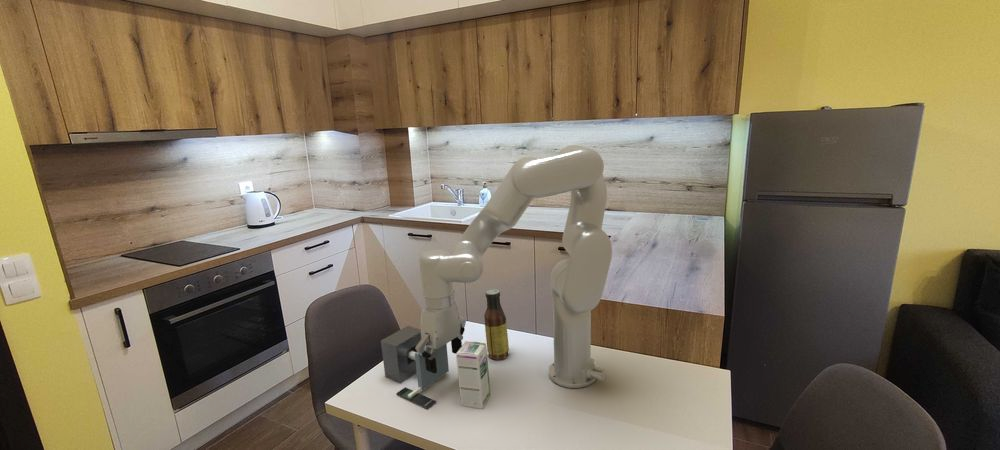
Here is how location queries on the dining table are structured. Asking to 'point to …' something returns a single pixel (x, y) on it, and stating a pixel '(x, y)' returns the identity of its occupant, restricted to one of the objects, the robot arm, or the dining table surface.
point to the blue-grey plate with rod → (425, 376)
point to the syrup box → (473, 374)
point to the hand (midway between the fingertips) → (444, 362)
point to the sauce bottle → (495, 326)
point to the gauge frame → (403, 362)
